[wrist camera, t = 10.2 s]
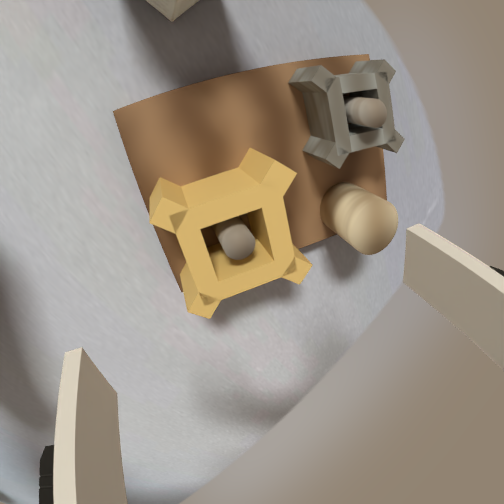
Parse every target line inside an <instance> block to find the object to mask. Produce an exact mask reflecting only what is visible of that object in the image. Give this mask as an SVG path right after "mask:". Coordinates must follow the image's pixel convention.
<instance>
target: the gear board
mask: <svg viewBox="0 0 504 504" xmlns="http://www.w3.org/2000/svg"><path fill="white" fill-rule="evenodd" d="M395 72H396V71H395V70H394V69H393V68H392V67H391V66H390V65H389V64H388V63H387V62H386V61H385V60H370V58H369V54H364V55H350V56H338V57H329V58H320V59H312V60H304V61H297V62H291V63H284V64H279V65H273V66H267V67H262V68H257V69H252V70H247V71H243V72H238V73H234V74H229V75H225V76H221V77H217V78H213V79H209V80H206V81H202V82H198V83H195V84H191V85H188V86H184V87H181V88H178V89H174V90H171V91H168V92H165V93H162V94H159V95H156V96H153V97H150V98H147V99H144V100H141V101H139V102H136V103H133V104H130V105H128V106H125V107H122V108H120V109H117V110H115V111H113V113H114V116H115V120H116V123H117V126H118V129H119V132H120V135H121V138H122V141H123V144H124V147H125V150H126V153H127V156H128V159H129V161H130V164H131V167H132V170H133V173H134V176H135V178H136V181H137V184H138V186H139V189H140V192H141V195H142V197H143V200H144V202H145V205H146V208H147V210H148V213H149V215H150V196H151V194H152V192H153V190H154V188H155V186H156V184H157V182H158V180H159V178H160V177H161V178H163V179H166V180H168V181H170V182H172V183H174V184H176V185H179V186H184V185H187V184H190V183H192V182H195V181H198V180H201V179H204V178H207V177H210V176H213V175H216V174H219V173H222V172H226V171H229V170H232V169H235V168H238V167H239V165H240V164H241V162H242V160H243V159H244V157H245V155H246V153H247V152H248V150H249V148H252V149H254V150H256V151H258V152H260V153H262V154H264V155H266V156H268V157H270V158H272V159H274V160H276V161H278V162H279V163H281V164H283V165H284V166H286V167H288V168H289V169H291V170H293V171H294V172H296V173H297V174H296V176H295V178H294V179H293V181H292V183H291V184H290V186H289V188H288V189H287V191H286V193H285V194H284V196H283V200H284V205H285V210H286V215H287V220H288V225H289V230H290V235H291V240H292V244H293V245H294V246H295V247H296V248H297V249H300V248H302V247H305V246H308V245H310V244H313V243H316V242H318V241H321V240H323V239H326V238H329V237H331V236H334V235H337V234H338V235H339V236H340V237H341V238H343V239H344V240H345V241H346V242H348V243H349V244H350V245H351V246H353V247H354V248H355V249H356V250H358V251H359V252H360V253H362V254H365V255H372V254H376V253H378V252H380V251H382V250H383V249H384V248H385V247H386V246H387V245H388V244H389V243H390V242H391V240H392V239H393V237H394V235H395V233H396V230H397V226H398V215H397V211H396V209H395V207H394V206H393V205H392V204H391V203H390V202H388V201H387V196H386V180H385V167H384V155H383V149H386V150H389V151H392V152H395V153H397V152H398V150H399V148H400V147H401V145H402V143H403V141H404V138H403V137H402V136H401V135H400V134H399V133H398V132H397V131H396V130H395V127H394V119H393V111H392V103H391V96H390V89H389V83H390V81H391V79H392V78H393V76H394V74H395ZM153 226H154V228H155V231H156V233H157V236H158V238H159V241H160V243H161V245H162V248H163V250H164V253H165V255H166V257H167V260H168V262H169V265H170V267H171V269H172V272H173V274H174V276H175V278H176V281H177V283H178V285H179V288H180V290H181V292H183V288H182V283H181V278H180V273H181V271H182V269H183V267H184V266H185V264H186V259H185V257H184V254H183V252H182V249H181V246H180V244H179V241H178V238H177V236H176V234H175V233H172V232H170V231H167V230H165V229H163V228H160V227H158V226H155V225H153ZM200 230H201V233H202V236H203V239H204V242H205V245H206V248H207V247H210V246H213V245H216V244H218V243H220V244H221V245H222V247H223V249H224V251H225V253H226V255H227V256H228V257H230V258H231V259H235V260H241V259H244V258H246V257H248V256H249V255H250V254H251V253H252V252H253V250H254V248H255V238H254V236H253V235H252V233H251V232H252V231H251V227H250V223H249V219H248V215H247V213H245V214H242V215H239V216H236V217H233V218H230V219H228V220H225V221H222V222H219V223H216V224H213V225H211V226H208V227H205V228H202V229H200Z"/></svg>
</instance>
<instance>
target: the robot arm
mask: <svg viewBox="0 0 504 504" xmlns="http://www.w3.org/2000/svg"><path fill="white" fill-rule="evenodd" d="M403 283H404V284H406V285H407V286H408V287H409V288H411V289H412V290H413V291H414V292H415V293H417V294H418V295H419V296H420V297H421V298H423V299H424V300H425V301H426V302H427V303H429V304H430V305H431V306H432V307H433V308H434V309H436V310H437V311H438V312H439V313H440V314H442V315H443V316H444V317H445V318H446V319H447V320H449V321H450V322H451V323H452V324H453V325H454V326H455V327H457V328H458V329H459V330H460V331H461V332H462V333H463V334H464V335H466V336H467V337H468V338H469V339H470V340H471V341H472V342H473V343H474V344H476V345H477V346H478V347H479V348H480V349H481V350H482V351H483V352H484V353H485V354H486V355H488V357H489V358H491V359H492V360H493V361H494V362H495V363H496V364H497V365H498V366H499V367H500V368H501V369H502V370H503V371H504V271H502V270H500V269H497V268H494V267H492V266H487V265H486V264H484V263H483V262H481V261H480V260H478V259H477V258H475V257H473V256H472V255H470V254H469V253H467V252H466V251H464V250H463V249H461V248H459V247H458V246H456V245H455V244H453V243H451V242H450V241H448V240H446V239H445V238H443V237H441V236H440V235H438V234H436V233H435V232H433V231H431V230H430V229H428V228H426V227H424V226H423V225H421V224H417V225H414V226H412V227H410V228H407V230H406V250H405V264H404V276H403ZM40 476H41V477H39V486H40V489H39V504H128V503H127V497H126V490H125V483H124V475H123V467H122V457H121V447H120V435H119V421H118V402H117V392H116V391H115V390H114V389H113V388H112V386H111V385H110V384H109V383H108V381H107V380H106V379H105V378H104V376H103V375H102V374H101V372H100V371H99V370H98V368H97V367H96V366H95V364H94V363H93V362H92V360H91V359H90V358H89V356H88V355H87V354H86V352H85V351H84V349H83V348H82V347H81V348H78V349H75V350H72V351H68V352H65V356H64V362H63V368H62V375H61V381H60V389H59V397H58V406H57V416H56V427H55V441H54V445H51V446H45V449H44V451H43V454H42V457H41V459H40Z"/></svg>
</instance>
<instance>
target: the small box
mask: <svg viewBox="0 0 504 504" xmlns="http://www.w3.org/2000/svg"><path fill="white" fill-rule="evenodd" d="M146 1H147V2H148V3H149V4H151V5H152V6H153V7H154V8H156V9H157V10H158V11H159V12H160V13H162V14H163V15H164V16H165V17H166V18H167V19H169V20H170V21H171V22H173V21H174V20H175V19H176V18H177V17H179V16H180V15H181V14H182V13H184V12H185V11H186V10H187V9H189V8H190V7H191V6H192V5H194V4H195V3H196V2H198V1H199V0H146Z"/></svg>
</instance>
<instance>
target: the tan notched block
mask: <svg viewBox="0 0 504 504" xmlns="http://www.w3.org/2000/svg"><path fill="white" fill-rule="evenodd" d="M296 174H297V173H296V172H294V171H293V170H291V169H289V168H288V167H286V166H284V165H283V164H281V163H279V162H278V161H276V160H274V159H272V158H270V157H268V156H266V155H264V154H262V153H260V152H258V151H256V150H254V149H252V148H249V150H248V152H247V153H246V155H245V157H244V159H243V160H242V162H241V164H240V165H239V167H238V168H235V169H232V170H229V171H226V172H222V173H219V174H216V175H213V176H210V177H207V178H204V179H201V180H198V181H195V182H192V183H190V184H187V185H184V186H179V185H176V184H174V183H172V182H170V181H168V180H166V179H163V178H161V177H160V178H159V180H158V182H157V184H156V186H155V188H154V190H153V192H152V194H151V196H150V223H151V224H153V225H155V226H158V227H160V228H163V229H165V230H167V231H170V232H172V233H175V234H176V236H177V238H178V241H179V244H180V246H181V249H182V252H183V254H184V257H185V259H186V264H185V266H184V267H183V269H182V271H181V273H180V278H181V283H182V288H183V292H184V297H185V302H186V306H187V311H188V312H189V313H192V314H195V315H199V316H202V317H205V318H208V319H210V318H211V316H212V315H213V313H214V311H215V310H216V308H217V306H218V305H219V303H220V301H221V300H223V299H225V298H228V297H231V296H233V295H236V294H239V293H241V292H244V291H247V290H249V289H252V288H255V287H257V286H260V285H262V284H265V283H268V282H270V281H273V280H275V279H278V278H281V277H282V278H285V279H287V280H290V281H292V282H295V283H297V284H300V283H301V282H302V280H303V279H304V277H305V276H306V274H307V273H308V271H309V270H310V268H311V267H312V264H311V263H310V262H309V261H308V259H307V258H306V257H305V256H304V255H303V254H302V253H301V252H300V251H299V250H298V249H297V248H296V247H295V246H294V245H293V244H292V240H291V235H290V230H289V225H288V220H287V215H286V210H285V205H284V200H283V196H284V194H285V193H286V191H287V189H288V188H289V186H290V184H291V183H292V181H293V179H294V178H295V176H296ZM245 213H247V215H248V219H249V223H250V227H251V231H252V232H251V233H252V235H253V236H254V238H255V248H254V250H253V252H252V253H251V254H250V255H249V256H248V257H246V258H244V259H241V260H235V259H231V258H230V257H228V256H227V255H226V253H225V251H224V249H223V247H222V245H221V244H220V243H218V244H216V245H213V246H210V247H207V248H206V245H205V242H204V239H203V236H202V233H201V230H200V229H202V228H205V227H208V226H211V225H213V224H216V223H219V222H222V221H225V220H228V219H230V218H233V217H236V216H239V215H242V214H245Z"/></svg>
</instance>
